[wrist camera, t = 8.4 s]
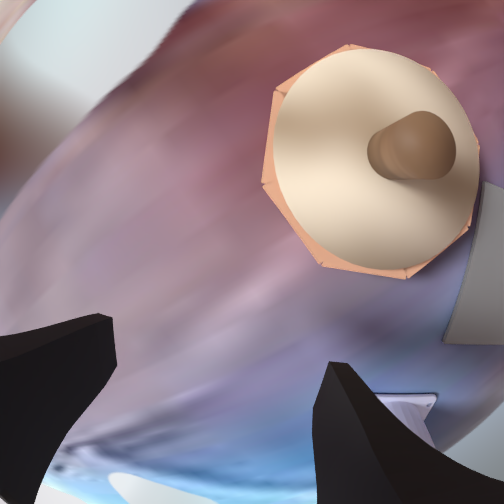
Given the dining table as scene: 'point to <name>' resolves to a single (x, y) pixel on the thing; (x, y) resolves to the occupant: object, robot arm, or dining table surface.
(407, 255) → the lid
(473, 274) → the mat
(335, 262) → the octagonal bowl
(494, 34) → the dining table surface
